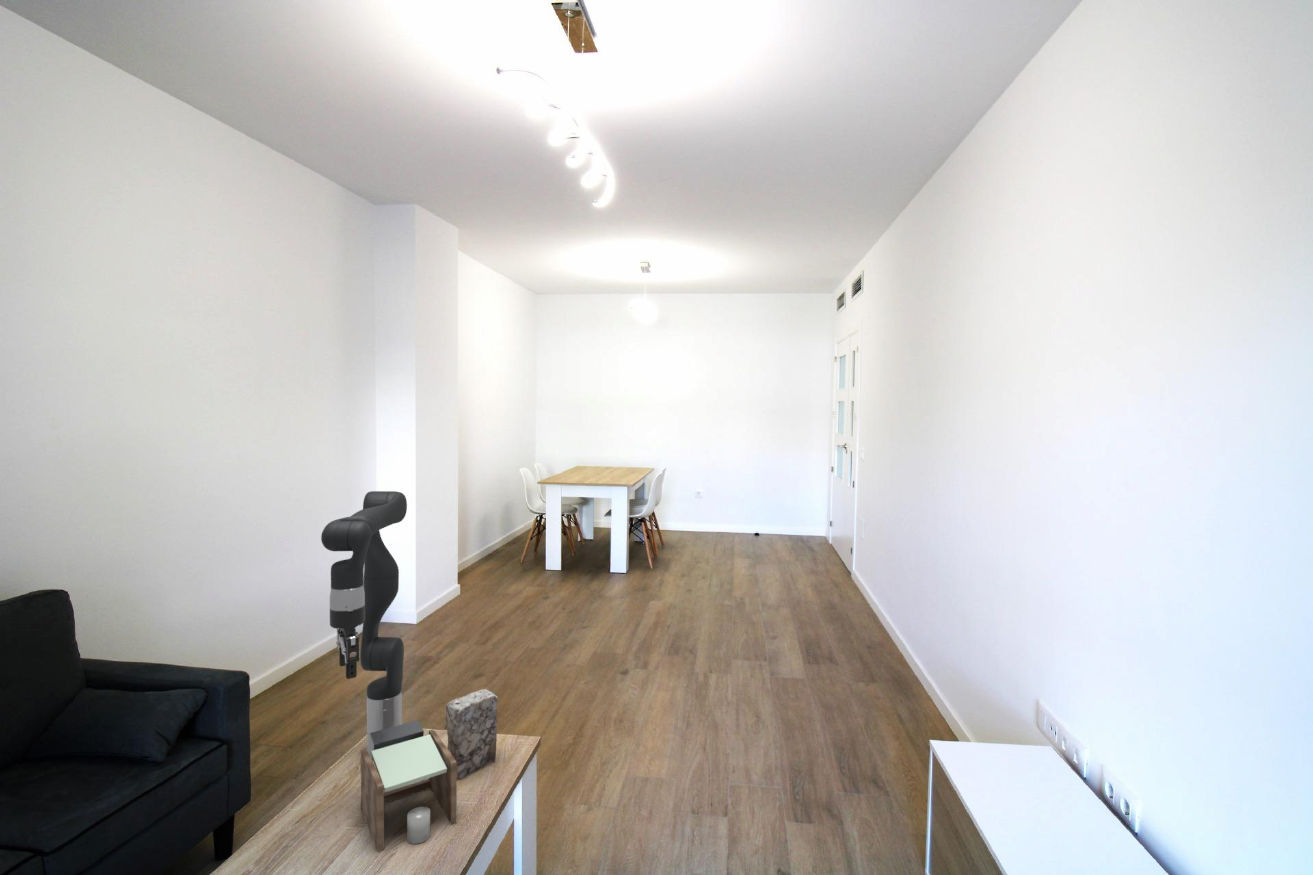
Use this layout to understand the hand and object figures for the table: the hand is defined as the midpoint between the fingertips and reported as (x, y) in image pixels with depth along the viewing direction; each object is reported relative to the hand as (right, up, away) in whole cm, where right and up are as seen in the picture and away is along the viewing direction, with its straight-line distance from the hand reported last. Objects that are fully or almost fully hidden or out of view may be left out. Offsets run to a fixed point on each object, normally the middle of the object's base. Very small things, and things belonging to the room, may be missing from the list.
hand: (347, 671), depth 150 cm
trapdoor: (+12, -24, +5) cm, 27 cm away
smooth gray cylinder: (+19, -31, -5) cm, 37 cm away
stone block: (+23, -36, +24) cm, 49 cm away
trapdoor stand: (+14, -36, +2) cm, 39 cm away
